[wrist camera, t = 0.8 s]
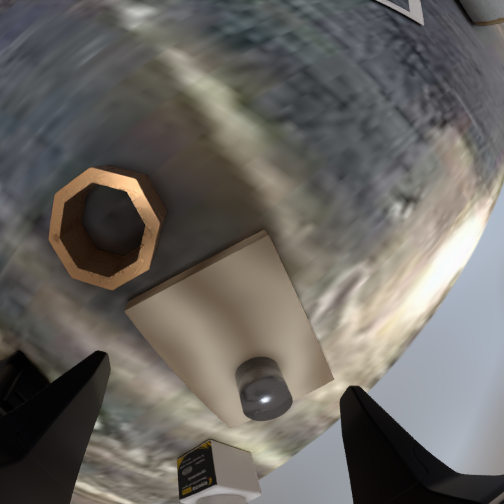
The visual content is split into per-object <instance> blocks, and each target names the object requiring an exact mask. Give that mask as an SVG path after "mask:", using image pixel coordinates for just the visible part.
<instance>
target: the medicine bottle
mask: <svg viewBox="0 0 504 504" xmlns="http://www.w3.org/2000/svg"><path fill="white" fill-rule="evenodd" d="M177 469H178V486H179V499H180V502H181V503H184V504H248V501H250V500H252V499H255V498H257V497H259V496H260V495H262V493H261V489H260V485H259V481H258V478H257V474H256V470H255V467H254V463H253V459H252V455H251V453H249V452H246V451H243V450H240V449H236V448H233V447H230V446H227V445H225V444H222V443H219V442H216V441H213V440H208V441H206V442H205V443H203V444H202V445H200V446H198V447H197V448H195V449H194V450H192V451H190V452H189V453H187V454H185V455H184V456H182V457H180V458H179V459H177Z"/></svg>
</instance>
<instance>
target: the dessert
mask: <svg viewBox="0 0 504 504" xmlns="http://www.w3.org/2000/svg"><path fill="white" fill-rule="evenodd" d="M376 1H379V2H381V3H383V4H385V5H387V6H389V7H391V8H393V9H395V10H397V11H399V12H400V13H402V14H404V15H406V16H408V17H410V18H411V19H413V20H415V21H416V22H418V23H420V24H421V25H424V21H423V14H422V8H421V2H420V0H409V7H410V12H408V11H406V10H404V9H403V8H401V7H399V6H397V5H395V4H393V3H391V2H389V1H387V0H376Z"/></svg>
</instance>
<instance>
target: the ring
mask: <svg viewBox="0 0 504 504" xmlns="http://www.w3.org/2000/svg"><path fill="white" fill-rule="evenodd" d="M100 184H101V185H105V186H108V187H112V188H116V189H120V190H123V191H127V193H128V195H129V196H130V198H131V200H132V202H133V204H134V206H135V207H136V209H137V211H138V213H139V214H140V216H141V218H142V220H143V221H144V223H145V225H146V226H145V230H144V234H143V238H142V243H141V246H139V247H138V248H136V249H134V250H133V251H131V252H129V253H128V254H126V255H124V256H121V255H117V254H114V253H110V252H107V251H104V250H100V249H97V248H96V247H95V245H94V244H93V242H92V240H91V239H90V237H89V235H88V234H87V232H86V230H85V228H84V227H83V225H82V217H83V212H84V207H85V202H86V197H87V193H89V192H90V191H92V190H93V189H95V188H96V187H98V186H99V185H100ZM166 212H167V210H166V208H165V207H164V205H163V203H162V201H161V199H160V197H159V196H158V194H157V192H156V190H155V188H154V186H153V185H152V183H151V181H150V179H149V177H148V175H145V174H142V173H138V172H134V171H130V170H127V169H123V168H119V167H115V166H111V165H108V166H98V167H91V168H89V169H88V170H86V171H85V172H83V173H82V174H81V175H79V176H78V177H77V178H75V179H74V180H73V181H71V182H70V183H69V184H67V185H66V186H65V187H64V188H62V189H61V190H60V191H58V192H57V193H56V194H55V197H54V203H53V209H52V216H51V223H50V232H49V241H50V243H51V245H52V246H53V248H54V250H55V251H56V253H57V255H58V256H59V258H60V260H61V261H62V263H63V265H64V266H65V268H66V269H67V271H68V272H69V274H70V275H71V277H72V278H74V279H77V280H80V281H83V282H86V283H90V284H93V285H96V286H99V287H103V288H106V289H109V290H114V289H116V288H117V287H119V286H121V285H123V284H124V283H126V282H128V281H130V280H131V279H133V278H135V277H137V276H138V275H140V274H142V273H144V272H145V271H147V270H149V268H150V265H151V263H152V260H153V257H154V255H155V252H156V250H157V246H158V242H159V238H160V234H161V231H162V227H163V223H164V219H165V216H166Z"/></svg>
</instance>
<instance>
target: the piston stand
mask: <svg viewBox="0 0 504 504" xmlns="http://www.w3.org/2000/svg"><path fill="white" fill-rule="evenodd" d="M124 312H125V313H126V314H127V316H128V317H129V318H130V320H131V321H132V322H133V324H134V325H135V326H136V327H137V329H138V330H139V331H140V333H141V334H142V335H143V336H144V337H145V339H146V340H147V341H148V342H149V344H150V345H151V346H152V347H153V348H154V350H155V351H156V352H157V353H158V354H159V356H160V357H161V358H162V359H163V360H164V361H165V362H166V364H167V365H168V366H169V367H170V368H171V369H172V370H173V371H174V373H175V374H176V375H177V376H178V377H179V378H180V379H181V380H182V381H183V382H184V383H185V384H186V386H187V387H188V388H189V389H190V390H191V391H192V392H193V393H194V394H195V395H196V396H197V397H198V398H199V399H200V400H201V401H202V402H203V403H204V404H205V405H206V406H207V407H208V408H209V409H210V410H211V411H212V412H213V413H214V414H215V415H216V416H217V417H219V418H220V419H221V420H222V421H223V422H224V423H225V424H226V425H227V426H228V427H229V428H232V427H234V426H237V425H240V424H242V423H245V422H247V421H250V420H252V419H249V418H248V417H246V416H245V415H244V413H243V409H242V405H241V401H240V397H239V392H238V388H237V384H236V379H235V373H236V370H237V368H238V367H239V366H240V365H241V364H242V363H243V362H245V361H247V360H249V359H251V358H255V357H268V358H271V359H273V360H275V361H276V362H277V364H278V365H279V368H280V370H281V372H282V375H283V377H284V379H285V382H286V384H287V386H288V389H289V391H290V393H291V395H292V398H293V401H294V400H296V399H298V398H300V397H302V396H304V395H306V394H308V393H310V392H312V391H314V390H316V389H318V388H320V387H322V386H323V385H325V384H327V383H329V382H331V381H332V380H334V378H333V375H332V373H331V371H330V368H329V366H328V364H327V362H326V359H325V357H324V355H323V352H322V350H321V348H320V346H319V343H318V341H317V339H316V337H315V334H314V332H313V330H312V328H311V325H310V323H309V321H308V319H307V316H306V314H305V312H304V310H303V308H302V305H301V303H300V301H299V299H298V297H297V294H296V292H295V290H294V288H293V286H292V284H291V281H290V279H289V277H288V275H287V273H286V271H285V268H284V266H283V264H282V262H281V260H280V258H279V256H278V253H277V251H276V249H275V247H274V245H273V243H272V241H271V238H270V236H269V235H268V233H267V232H266V231H265V230H262V231H260V232H258V233H256V234H254V235H252V236H250V237H248V238H246V239H244V240H243V241H241V242H239V243H237V244H235V245H233V246H231V247H229V248H227V249H225V250H223V251H222V252H220V253H218V254H216V255H214V256H212V257H210V258H208V259H206V260H205V261H203V262H201V263H199V264H197V265H195V266H193V267H191V268H189V269H188V270H186V271H184V272H182V273H180V274H178V275H176V276H175V277H173V278H171V279H169V280H167V281H165V282H163V283H161V284H160V285H158V286H156V287H154V288H152V289H150V290H149V291H147V292H145V293H143V294H141V295H139V296H137V297H136V298H134V299H132V300H130V301H128V302H127V305H126V308H125V310H124Z"/></svg>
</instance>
